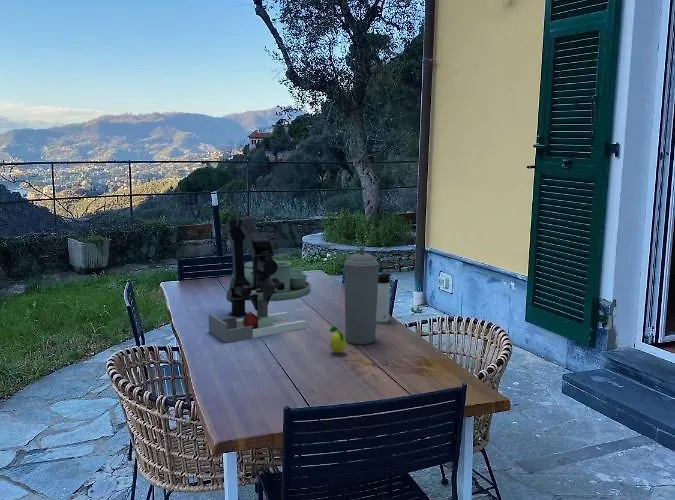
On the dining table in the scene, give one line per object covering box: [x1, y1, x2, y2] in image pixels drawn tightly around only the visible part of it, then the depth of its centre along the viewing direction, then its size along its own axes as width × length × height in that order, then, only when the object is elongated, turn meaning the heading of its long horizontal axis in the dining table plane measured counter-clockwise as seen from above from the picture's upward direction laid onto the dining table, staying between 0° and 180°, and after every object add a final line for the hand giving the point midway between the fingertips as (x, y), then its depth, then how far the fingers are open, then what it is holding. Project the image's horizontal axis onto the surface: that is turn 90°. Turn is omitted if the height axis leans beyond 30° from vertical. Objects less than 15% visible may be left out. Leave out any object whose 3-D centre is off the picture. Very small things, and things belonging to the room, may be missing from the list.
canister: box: [343, 246, 380, 345], centre depth 218 cm, size 13×13×35 cm
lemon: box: [329, 325, 347, 355], centre depth 206 cm, size 7×6×10 cm
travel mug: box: [376, 273, 392, 325], centre depth 244 cm, size 6×7×20 cm
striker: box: [252, 299, 282, 329], centre depth 233 cm, size 10×12×11 cm
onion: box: [243, 311, 258, 329], centre depth 229 cm, size 6×6×8 cm
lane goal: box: [208, 311, 307, 344], centre depth 231 cm, size 15×34×7 cm, turn 124°
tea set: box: [228, 260, 311, 302], centre depth 294 cm, size 40×40×16 cm
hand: (260, 309), depth 231 cm, fingers open, 3 cm apart
